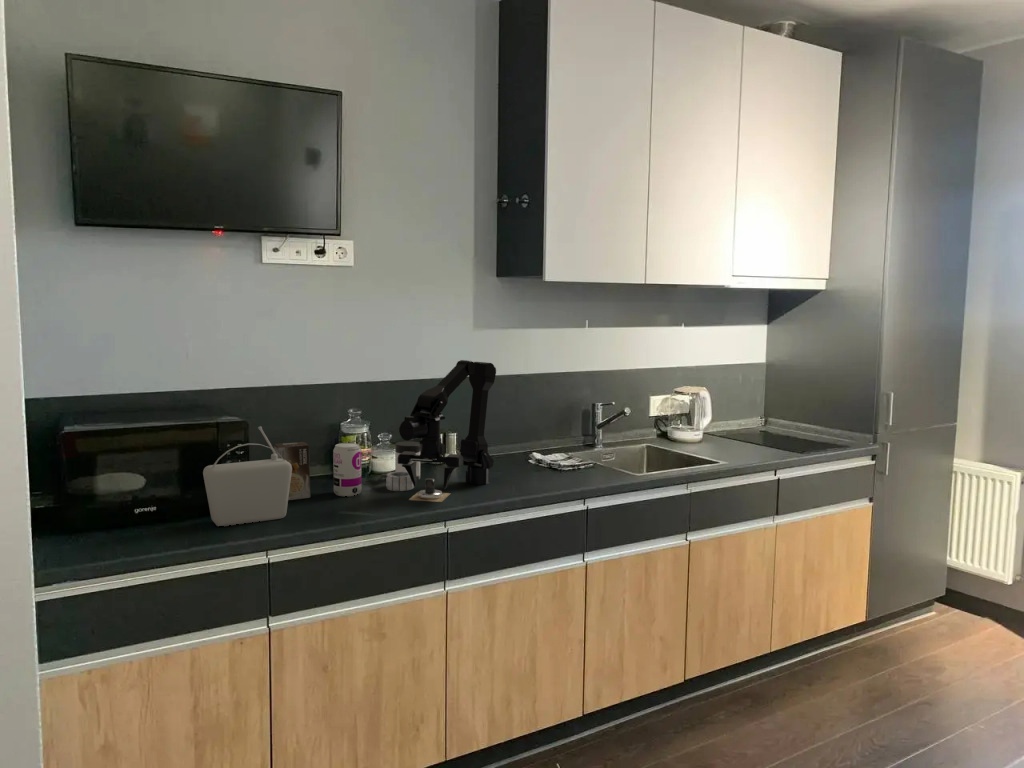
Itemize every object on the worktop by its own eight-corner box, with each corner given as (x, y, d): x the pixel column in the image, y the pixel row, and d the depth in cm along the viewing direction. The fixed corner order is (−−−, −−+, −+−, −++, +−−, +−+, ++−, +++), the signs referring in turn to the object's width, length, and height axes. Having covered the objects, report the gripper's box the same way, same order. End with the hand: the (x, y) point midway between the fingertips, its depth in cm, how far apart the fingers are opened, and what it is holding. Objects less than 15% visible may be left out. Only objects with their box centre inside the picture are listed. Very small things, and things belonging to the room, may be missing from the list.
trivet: (450, 495, 239) (450, 493, 239) (441, 504, 230) (441, 501, 229) (418, 493, 241) (418, 491, 241) (408, 502, 231) (408, 499, 231)
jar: (400, 483, 253) (400, 446, 252) (390, 478, 260) (390, 442, 259) (425, 480, 258) (426, 444, 257) (414, 475, 265) (414, 440, 264)
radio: (284, 510, 221) (283, 422, 218) (293, 517, 214) (292, 426, 211) (202, 521, 209) (199, 428, 206) (209, 529, 202) (206, 433, 199)
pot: (422, 488, 248) (422, 472, 248) (414, 494, 240) (414, 478, 239) (385, 485, 250) (385, 470, 250) (376, 492, 242) (376, 476, 242)
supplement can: (366, 491, 242) (366, 443, 241) (352, 498, 235) (352, 448, 233) (343, 489, 245) (342, 441, 243) (328, 495, 237) (328, 446, 236)
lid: (444, 494, 238) (444, 477, 238) (438, 500, 231) (438, 482, 230) (421, 492, 239) (421, 475, 239) (414, 498, 232) (414, 481, 232)
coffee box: (305, 493, 240) (305, 441, 238) (310, 498, 234) (310, 445, 232) (274, 496, 235) (273, 443, 233) (279, 501, 230) (278, 447, 228)
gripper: (467, 432, 239) (467, 483, 241) (408, 429, 243) (408, 479, 244) (458, 439, 228) (458, 492, 230) (396, 436, 232) (396, 488, 234)
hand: (430, 487), depth 235 cm, fingers open, 9 cm apart
